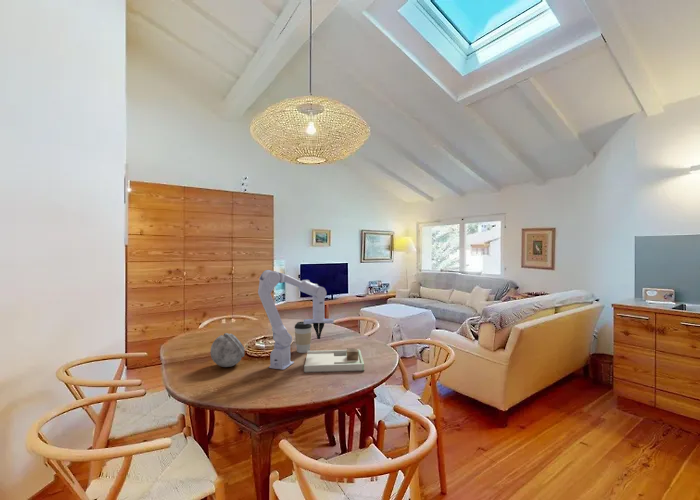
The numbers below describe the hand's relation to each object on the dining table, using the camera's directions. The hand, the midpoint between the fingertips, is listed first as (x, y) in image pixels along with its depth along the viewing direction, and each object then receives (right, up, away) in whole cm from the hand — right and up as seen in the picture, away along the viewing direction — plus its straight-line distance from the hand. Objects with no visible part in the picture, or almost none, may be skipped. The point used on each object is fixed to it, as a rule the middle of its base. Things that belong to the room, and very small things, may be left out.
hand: (318, 338), depth 157 cm
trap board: (+8, -9, -8) cm, 15 cm away
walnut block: (+16, -7, -7) cm, 19 cm away
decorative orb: (-41, -10, -11) cm, 43 cm away
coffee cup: (-9, -10, +11) cm, 17 cm away
